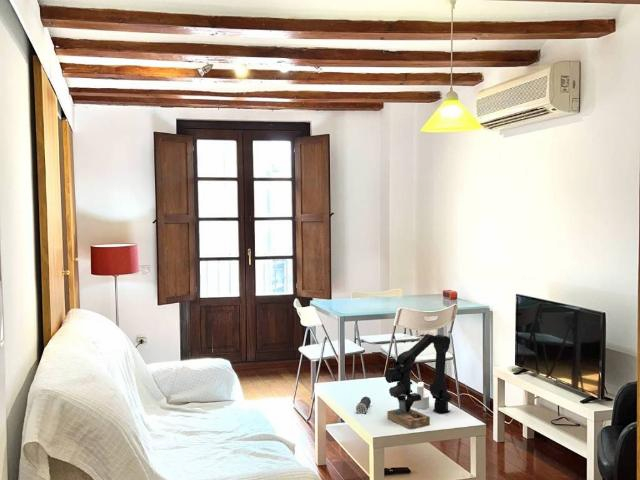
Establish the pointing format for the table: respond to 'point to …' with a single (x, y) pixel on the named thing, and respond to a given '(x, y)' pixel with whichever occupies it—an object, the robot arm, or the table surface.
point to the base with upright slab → (424, 398)
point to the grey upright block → (403, 407)
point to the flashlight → (363, 405)
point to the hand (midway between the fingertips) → (404, 410)
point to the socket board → (409, 419)
